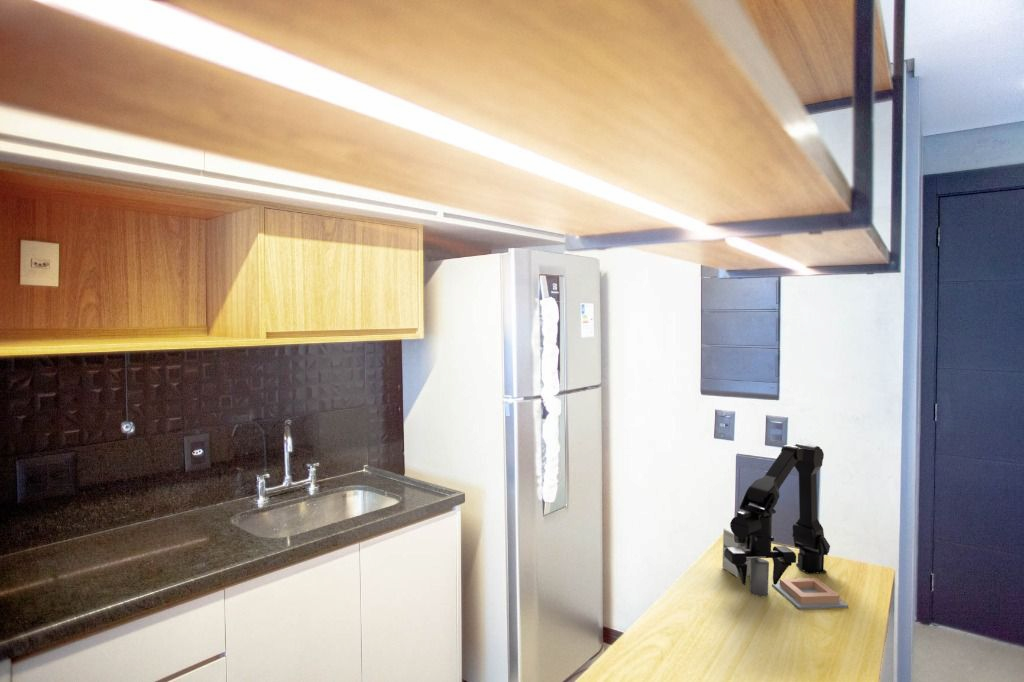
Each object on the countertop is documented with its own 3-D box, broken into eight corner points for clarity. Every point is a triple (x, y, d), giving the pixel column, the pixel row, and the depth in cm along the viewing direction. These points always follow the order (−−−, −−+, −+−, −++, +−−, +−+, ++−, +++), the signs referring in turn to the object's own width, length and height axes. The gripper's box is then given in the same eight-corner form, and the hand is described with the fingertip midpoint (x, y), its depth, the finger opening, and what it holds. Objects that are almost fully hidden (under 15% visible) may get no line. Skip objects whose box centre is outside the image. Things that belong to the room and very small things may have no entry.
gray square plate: (817, 584, 176) (817, 575, 176) (848, 607, 162) (848, 598, 162) (771, 585, 175) (772, 576, 174) (798, 609, 161) (798, 599, 160)
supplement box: (721, 568, 186) (722, 528, 186) (741, 565, 189) (742, 525, 188) (737, 578, 179) (738, 536, 179) (757, 575, 182) (758, 534, 181)
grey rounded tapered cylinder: (762, 588, 173) (763, 557, 172) (771, 596, 168) (772, 564, 167) (746, 588, 172) (747, 558, 172) (754, 596, 167) (755, 565, 167)
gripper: (777, 520, 178) (775, 571, 179) (716, 521, 177) (715, 573, 177) (798, 533, 167) (796, 588, 168) (733, 535, 165) (732, 590, 166)
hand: (759, 584), depth 170 cm, fingers open, 9 cm apart
